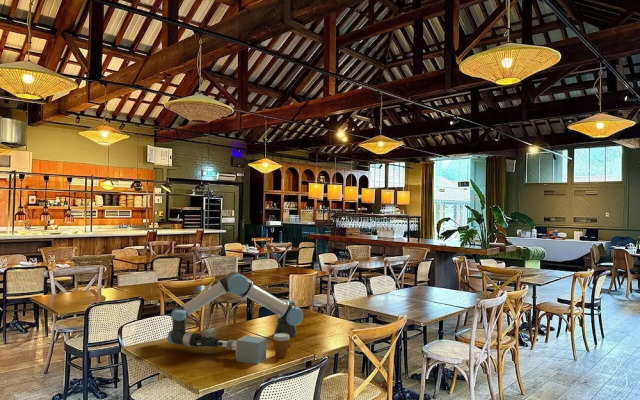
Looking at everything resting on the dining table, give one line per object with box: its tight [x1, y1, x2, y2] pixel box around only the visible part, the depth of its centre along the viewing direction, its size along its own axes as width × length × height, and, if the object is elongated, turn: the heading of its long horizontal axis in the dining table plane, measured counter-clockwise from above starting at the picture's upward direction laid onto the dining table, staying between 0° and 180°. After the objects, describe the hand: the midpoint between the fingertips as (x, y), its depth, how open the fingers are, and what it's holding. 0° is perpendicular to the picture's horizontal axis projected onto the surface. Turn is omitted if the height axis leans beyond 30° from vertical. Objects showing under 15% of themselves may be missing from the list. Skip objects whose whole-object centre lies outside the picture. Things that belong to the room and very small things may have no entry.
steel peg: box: [226, 339, 236, 351], centre depth 247 cm, size 12×5×5 cm, turn 71°
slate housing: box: [235, 335, 268, 365], centre depth 246 cm, size 14×10×11 cm
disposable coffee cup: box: [272, 333, 291, 359], centre depth 253 cm, size 10×10×12 cm
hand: (228, 344), depth 249 cm, fingers closed
